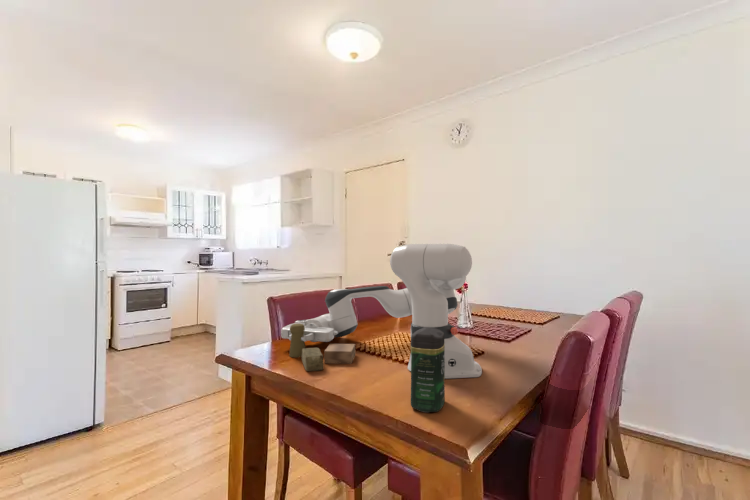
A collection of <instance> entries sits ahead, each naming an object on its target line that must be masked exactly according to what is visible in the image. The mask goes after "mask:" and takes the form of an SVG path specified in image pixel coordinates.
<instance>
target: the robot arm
mask: <svg viewBox="0 0 750 500" xmlns="http://www.w3.org/2000/svg"><path fill="white" fill-rule="evenodd" d="M389 264H390V265H389V266H390V268H391V270H392V272H393V274H394V275H395V276H397V277H398V278H399V279H400V280H401V281H402V282H403V284H404V285H405V288H402V289H391V288H390V287H389V286H388V285H376V286H363V287H357V288H356V287H355V288H354V287H353V288H335V289H332V290H330V291H328V292H327V294H326V295H325V298H324V299H325V300H324V302H325V305H326V308H327V309H328V312H329V313H324V314H322V315H319V316H317V317H314V318H310V319H302V320H295V321H294V323H290V324H287V325H285V326H283V327H282V328H281V329H280V331H281V332H280V335H281V338H282V339H288V341H291V335H292V334H291V332H290V326H291V325H293V324H303V325H304V327H305V331H304V333H303V336H301V341H304V342H307V341H310V342H312V343H317V342H322V343H328V342H331V341H333V339H334V338H338V339H339V338H344V337H345V336H348V335H350V334H352V333H354V332H355V331H356V330H357V327H358V321H357V317H356V313H355V310H354V307H353V303H352V300H353V299H358V298H368V297H371V298H374V299H376V300H377V301H378V302H379V303H380V305H381V307H383V309H384V310H385V312H387V313H388V314H389V316H392V317H394V318H397V319H399V318H406V317H409V316H411V321H412V322H411V323H410V336H411V335H412V334H413V333H414V332H416V331H417V330H419V329H422V328H423V327H433V328H439V329H440V330H441V331H442V332H443V333H444V341H445V380H446V379H463V378H466V379H467V378H479V377H481V376H482V374H483V370H482V366H481V364H479V362H477V361H475V357H474V355H473V354H474V353H473V351H472V349H471V348H470V347H469V345H467V344H466V343H464V342H463V341H462V340H461V339H460V338H458V337H457V336H456V335H457V334H458V332H459V331H458V328H457V327H455V326H454V325H453V324H451V323H449V315H450V314H451V313H453V312H454V311H455V310H457V309H458V306H459V305H458V300H457V297H456V295H455V291H454V290H458V289H460V288H462V287H463V285H464V284H465V283H466V280H467V276H468V275H469V273H470V272H471V270H472V267H473V266H472V265H473V259H472V255H471V252H470V251H469V249H468V248H467V247H466V246H463V245H458V244H453V243H409V244H404V245H400V246H399V245H398V246H397V247H395V248H394V249H393V250H392V252H391V254H390V258H389ZM408 360H409V361H408V364H407V370H408V371H410V372H411V354H410V355H409V359H408Z"/></svg>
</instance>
